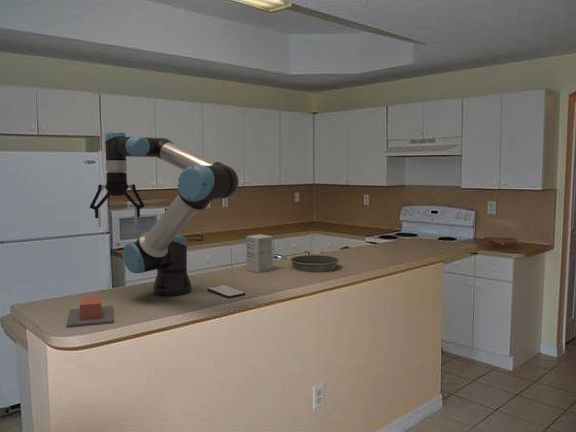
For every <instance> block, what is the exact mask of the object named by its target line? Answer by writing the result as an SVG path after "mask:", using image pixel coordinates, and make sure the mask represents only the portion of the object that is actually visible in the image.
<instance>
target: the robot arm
mask: <svg viewBox="0 0 576 432" xmlns="http://www.w3.org/2000/svg"><path fill="white" fill-rule="evenodd" d="M104 140H105V141H104V143H105V144H104V146H105V170H106V184H98V186H97V191H96V193H95V196H94V197H93V200H92V201H91V203H90V205H89V208H90V209H92V210H94V217H95V219H97V220H98V228H101V221H102V220H101V206H102V205H104V204H105V202H106V201H107V199H108V198H109V197H110V196H112V197H116V196H118V197H122V196H124V197H126V199H127V200H129V202H130V203H131V204H132V205H133V206H134V207H135V208H134V226H135V227H137V226H138V218H140V216H141V211H140V210H141V209H143V208H145V203H144V202H143V200H142V199H141V197H140V195H139V193H138V191H137V188H136V185H135V184H134V183H132V184H128V178H127V177H128V175H127V157H132V158H133V157H134V158H140V157H141V158H143V157H145V158H147V157H148V158H157V159H159V160H162V161H164V162H166V163H168V164H170V165H172V166H173V167H176V168H178V169H179V170H182V172H181V173H180V174H179V175H178V176H179V177H178V179H177V181H178V183H177V196H176V197H175V198H174V200H173V201H172V202H171V203H170V204H169V206H168V207H167V208H166V210H165V211H164V212H163V213H162V214H161V216H160V217H159V218H158V220H157V221H156V222H155V223H154V225H153V226H152V228H150V230H149V231H145V232H143V233H142V234H140V235H139V237H138V239H137V240H136V241H134V242H133V241H132V242H131V241H130V242H129V243H126V244H125V246H124V247H123V250H122V258H123V263H124V265H125V267H126V269H127V270H128V271H129V272H130V273H133V274H143V273H146V272H147V273H148V272H151V271H155V270H156V275H155V276H156V277H155V279H154V283H153V286H152V294H154V295H157V296H163V297H164V296H165V297H173V296H176V297H177V296H183V295H186V294H189V293H191V292H192V283H191V280H190V277H189V275H188V269H187V268H188V267H187V265H188V263H187V261H188V260H187V259H188V258H187V257H188V253H187V252H188V245H187V239H186V238H187V237H185V236H184V235H179V233H180V232H181V231H182V230H183V228H184V227H185V226H186V225H187V224H188V223H189V221H190V220H191V219H192V218H193V217H194V215H195V214H196V213H197V212H198V211H203V210H205V209H206V208H207V207H208V206H209V205H210V203H211V202H213V200H221V199H227V198H230V197H231V196H233V194H235V193H236V191H237V190H238V187H239V176H238V173H237V171H236V170H235V169H234V168H232V167H231V166H229V165H227V164H224V163H223V162H220V161H215V162H213V161H211V160H209V159H207V158H205V157H203V156H200V155H198V154H195V153H193V152H192V151H189V150H187V149H185V148H184V147H181V146H178V145H177V144H175V143H174V142H173V140H172V139H170V138H166V137H148V136H145V137H144V136H141V135H133V136H126V133H125V131H106V133H105V139H104ZM104 189H106V191H107V192H106V194H105V195H104V196H103V197H102V199H101V200H100V201H99V202H98V204H96V202H97V200H98V199H99V196H100V194H101V192H102V191H104ZM128 189H130V191H132V192H133V193H134V196H135V198H136V200H137V202H138V203H139V205H138V203H137V202H136V201H135V200H134V199H133V198H132V197H131V196H130V195H129V194H128V193H127V190H128ZM95 204H96V205H95Z"/></svg>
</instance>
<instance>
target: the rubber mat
mask: <svg viewBox="0 0 576 432" xmlns="http://www.w3.org/2000/svg"><path fill="white" fill-rule="evenodd" d="M114 320H115V318H114V306H113V305H106V306H102V318H98V319H88V320H80V308H70V310H69V312H68V318H67V321H66V328H75V327H86V326H95V325H104V324H105V325H107V324H115V323H114V322H115V321H114Z"/></svg>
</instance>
